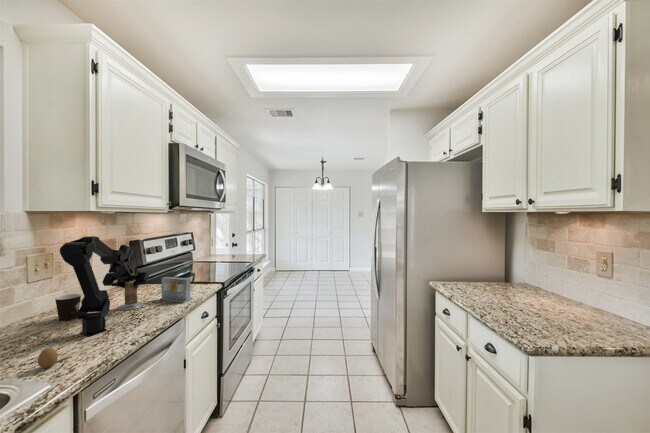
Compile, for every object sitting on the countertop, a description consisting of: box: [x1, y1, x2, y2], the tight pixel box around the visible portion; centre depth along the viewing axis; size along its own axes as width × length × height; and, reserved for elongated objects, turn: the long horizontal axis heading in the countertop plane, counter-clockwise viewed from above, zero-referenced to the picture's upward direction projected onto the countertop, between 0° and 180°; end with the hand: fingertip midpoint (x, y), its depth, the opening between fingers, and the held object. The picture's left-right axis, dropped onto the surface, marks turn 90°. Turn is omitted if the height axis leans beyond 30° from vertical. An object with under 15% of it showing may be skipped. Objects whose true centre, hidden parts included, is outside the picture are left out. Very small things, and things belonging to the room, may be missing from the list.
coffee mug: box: [54, 293, 82, 322], centre depth 129 cm, size 12×9×10 cm
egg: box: [37, 347, 59, 369], centre depth 88 cm, size 4×4×6 cm
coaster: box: [117, 301, 145, 312], centre depth 144 cm, size 11×11×1 cm
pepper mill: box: [124, 272, 138, 305], centre depth 144 cm, size 5×5×16 cm
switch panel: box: [159, 276, 193, 304], centre depth 155 cm, size 6×16×12 cm, turn 76°
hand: (132, 287), depth 145 cm, fingers closed on pepper mill, 5 cm apart
